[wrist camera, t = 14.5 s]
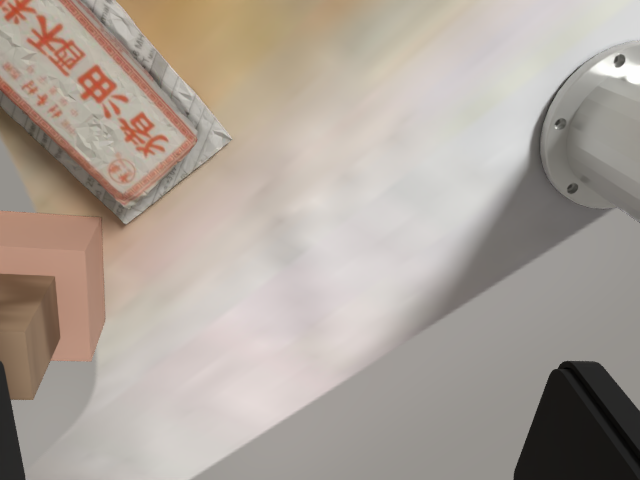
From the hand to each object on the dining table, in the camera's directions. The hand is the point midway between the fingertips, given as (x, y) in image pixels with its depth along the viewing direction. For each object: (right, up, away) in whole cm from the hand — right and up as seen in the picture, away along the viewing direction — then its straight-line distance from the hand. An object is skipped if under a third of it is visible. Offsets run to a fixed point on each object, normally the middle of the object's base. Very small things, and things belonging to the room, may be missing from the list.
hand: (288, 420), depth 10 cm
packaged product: (-15, +14, +27) cm, 34 cm away
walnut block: (-20, -1, +28) cm, 34 cm away
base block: (-20, +1, +32) cm, 38 cm away
